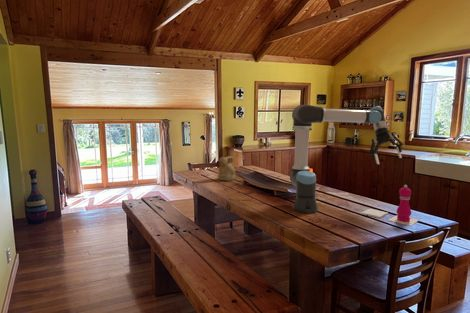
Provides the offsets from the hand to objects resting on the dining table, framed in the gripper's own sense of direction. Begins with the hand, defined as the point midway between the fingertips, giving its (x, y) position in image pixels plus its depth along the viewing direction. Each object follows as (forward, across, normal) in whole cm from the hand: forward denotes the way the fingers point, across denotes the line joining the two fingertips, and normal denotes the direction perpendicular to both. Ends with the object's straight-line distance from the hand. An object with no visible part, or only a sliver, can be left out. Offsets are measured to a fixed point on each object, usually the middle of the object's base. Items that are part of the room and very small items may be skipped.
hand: (389, 160), depth 197 cm
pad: (+31, +13, +8) cm, 35 cm away
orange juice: (+8, +62, +1) cm, 63 cm away
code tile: (+37, -2, +8) cm, 38 cm away
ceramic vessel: (-23, +139, +5) cm, 141 cm away
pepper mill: (+37, -2, +8) cm, 38 cm away
